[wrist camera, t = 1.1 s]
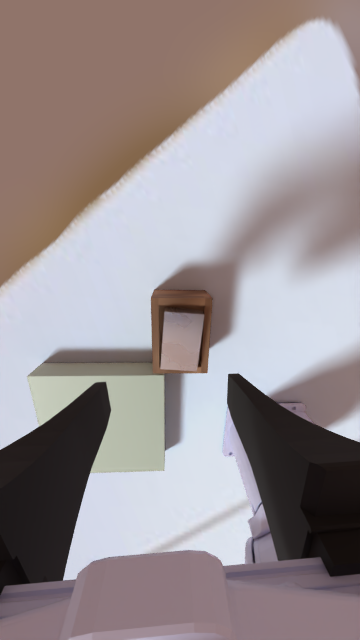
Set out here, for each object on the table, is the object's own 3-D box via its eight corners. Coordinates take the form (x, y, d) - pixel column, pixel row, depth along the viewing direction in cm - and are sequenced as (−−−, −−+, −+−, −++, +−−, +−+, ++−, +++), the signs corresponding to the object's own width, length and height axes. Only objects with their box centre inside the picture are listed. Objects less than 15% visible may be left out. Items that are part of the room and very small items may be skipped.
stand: (164, 362, 23) (164, 375, 20) (164, 451, 27) (164, 470, 24) (42, 363, 22) (26, 376, 20) (61, 453, 26) (50, 474, 24)
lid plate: (201, 309, 18) (204, 314, 17) (194, 362, 20) (196, 371, 18) (164, 306, 18) (164, 311, 16) (161, 360, 19) (160, 369, 18)
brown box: (204, 289, 21) (212, 298, 17) (201, 352, 23) (207, 373, 19) (154, 289, 20) (150, 297, 17) (155, 353, 23) (152, 373, 19)
